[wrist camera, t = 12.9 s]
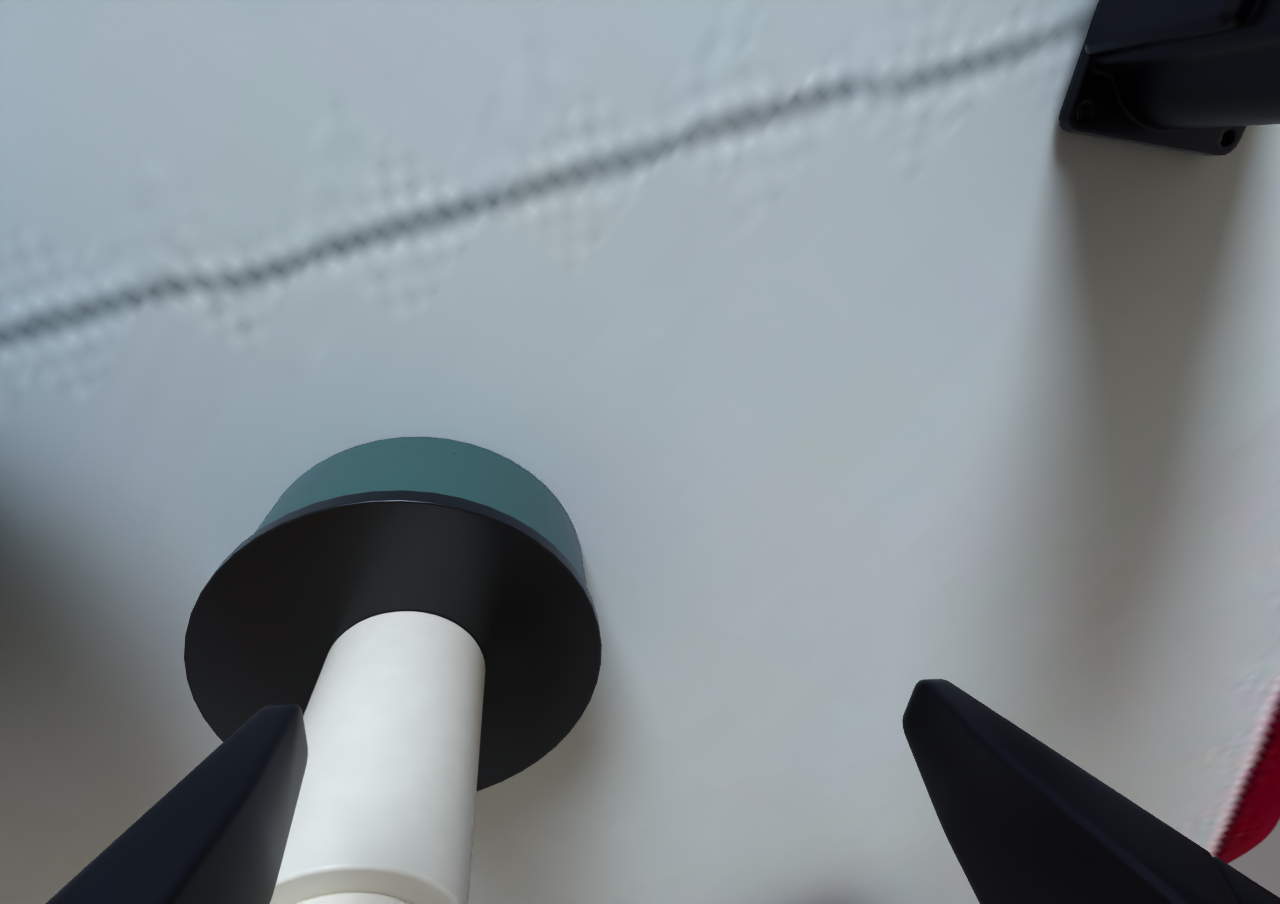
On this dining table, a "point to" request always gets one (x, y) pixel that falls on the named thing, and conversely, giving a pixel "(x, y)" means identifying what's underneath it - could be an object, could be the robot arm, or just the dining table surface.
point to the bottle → (389, 768)
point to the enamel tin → (406, 590)
